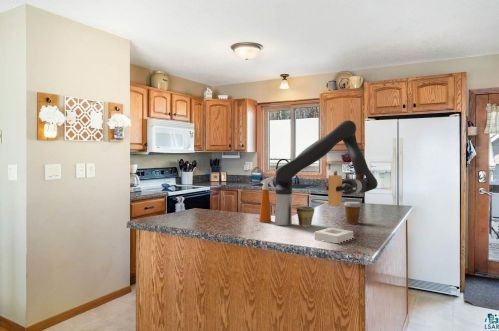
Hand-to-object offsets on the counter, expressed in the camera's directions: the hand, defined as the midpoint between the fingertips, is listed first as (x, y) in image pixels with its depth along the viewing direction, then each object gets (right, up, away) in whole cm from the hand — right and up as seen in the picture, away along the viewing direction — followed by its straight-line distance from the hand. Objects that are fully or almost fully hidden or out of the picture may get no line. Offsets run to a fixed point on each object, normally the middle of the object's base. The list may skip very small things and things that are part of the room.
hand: (332, 188), depth 160 cm
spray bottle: (-27, -22, +43) cm, 55 cm away
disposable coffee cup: (+21, -23, +40) cm, 51 cm away
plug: (+2, -8, +2) cm, 8 cm away
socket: (+2, -24, +2) cm, 24 cm away
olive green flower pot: (-7, -23, +34) cm, 41 cm away
